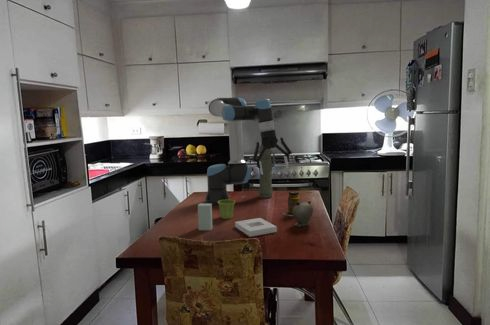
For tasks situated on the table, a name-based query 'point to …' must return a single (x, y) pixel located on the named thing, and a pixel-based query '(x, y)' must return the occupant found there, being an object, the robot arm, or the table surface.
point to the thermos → (266, 173)
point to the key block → (204, 216)
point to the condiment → (292, 202)
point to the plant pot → (226, 208)
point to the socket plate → (255, 227)
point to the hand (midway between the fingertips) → (274, 171)
